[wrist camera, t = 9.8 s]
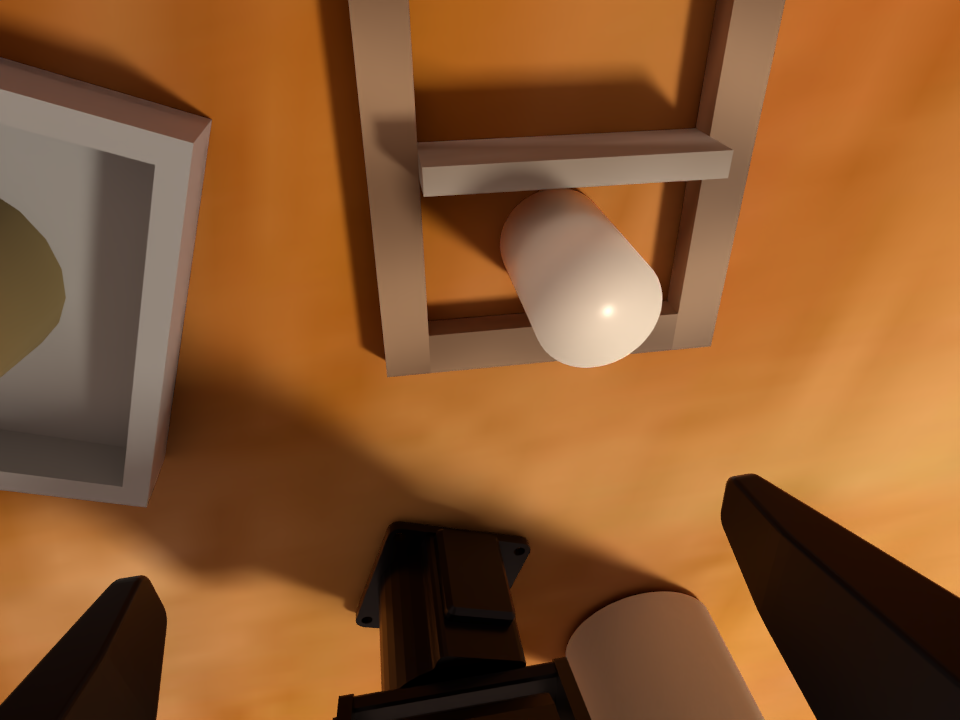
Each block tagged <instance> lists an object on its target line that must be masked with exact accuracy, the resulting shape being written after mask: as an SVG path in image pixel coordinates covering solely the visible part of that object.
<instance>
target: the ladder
mask: <svg viewBox="0 0 960 720" xmlns="http://www.w3.org/2000/svg"><path fill="white" fill-rule="evenodd" d="M348 3H349V12H350V22H351V32H352V41H353V51H354V60H355V70H356V80H357V89H358V99H359V108H360V118H361V128H362V137H363V147H364V157H365V166H366V176H367V185H368V195H369V205H370V214H371V224H372V233H373V243H374V253H375V262H376V272H377V282H378V291H379V301H380V310H381V320H382V330H383V339H384V349H385V358H386V368H387V377H395V376H405V375H415V374H426V373H436V372H447V371H457V370H468V369H478V368H489V367H499V366H509V365H520V364H530V363H541V362H551V361H557V360H556V359H554V358H553V357H551V356H550V355H549V354H548V353H547V352H546V351H545V350H544V349H543V347H542V346H541V345H540V343H539V341H538V339H537V337H536V335H535V332H534V330H533V328H532V326H531V323H530V321H529V319H528V317H527V314H526V313H518V314H506V315H494V316H483V317H471V318H459V319H448V320H436V321H428V317H427V300H426V283H425V266H424V250H423V233H422V216H421V200H420V184H421V188H422V192H423V196H424V197H429V196H446V195H462V194H478V193H495V192H511V191H527V190H543V189H560V188H576V187H592V186H609V185H625V184H641V183H657V182H674V181H687V183H686V189H685V195H684V201H683V207H682V213H681V219H680V225H679V231H678V238H677V244H676V250H675V256H674V262H673V268H672V274H671V280H670V286H669V292H668V298H667V301H662V308H661V312H660V315H659V318H658V321H657V323H656V325H655V327H654V329H653V330H652V332H651V333H650V335H649V336H648V337H647V339H646V340H645V341H644V342H643V343H642V344H641V345H640V346H639V347H638V348H637V349H635V350H634V351H633V352H632V353H630V354H635V353H645V352H656V351H666V350H677V349H687V348H698V347H708V346H711V342H712V337H713V333H714V328H715V323H716V319H717V314H718V309H719V305H720V300H721V296H722V291H723V286H724V282H725V277H726V272H727V268H728V263H729V259H730V254H731V249H732V245H733V240H734V235H735V231H736V226H737V222H738V217H739V212H740V208H741V203H742V198H743V194H744V189H745V185H746V180H747V175H748V171H749V166H750V161H751V157H752V152H753V148H754V143H755V138H756V134H757V129H758V124H759V120H760V115H761V111H762V106H763V101H764V97H765V92H766V87H767V83H768V78H769V74H770V69H771V64H772V60H773V55H774V50H775V46H776V41H777V37H778V32H779V27H780V23H781V18H782V13H783V9H784V4H785V0H717V3H716V9H715V15H714V21H713V27H712V33H711V39H710V45H709V51H708V57H707V63H706V69H705V75H704V81H703V87H702V93H701V99H700V105H699V111H698V117H697V123H696V128H691V129H671V130H652V131H632V132H612V133H593V134H573V135H553V136H534V137H514V138H494V139H475V140H455V141H435V142H417V133H416V116H415V99H414V82H413V66H412V49H411V32H410V16H409V0H348ZM419 180H420V183H419Z"/></svg>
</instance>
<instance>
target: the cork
mask: <svg viewBox="0 0 960 720" xmlns="http://www.w3.org/2000/svg"><path fill="white" fill-rule="evenodd" d="M65 299H66V295H65V288H64V282H63V275H62V269H61V267H60V265H59V263H58V261H57V259H56V257H55V255H54V253H53V252H52V250H51V248H50V246H49V244H48V242H47V240H46V239H45V238H44V237H43V235H42V234H41V233H40V232H39V231H38V230H37V229H36V228H35V227H34V226H33V225H32V224H31V223H30V222H29V221H28V220H27V218H26V217H25V216H24V215H23V214H22V213H21V212H20V211H19V210H17V209H16V208H14V207H13V206H11V205H10V204H8V203H7V202H5V201H4V200H2V199H0V378H1V377H2V376H3V375H4V374H5V373H7V372H8V371H9V370H10V369H11V368H13V367H14V366H15V365H16V364H17V363H18V362H20V361H21V360H22V359H23V358H24V357H26V356H27V355H28V354H29V353H30V352H32V351H33V350H34V349H35V348H36V347H37V346H39V345H40V344H41V343H42V342H43V341H44V340H45V339H46V337H47V336H48V335H49V334H50V333H51V332H52V330H53V329H54V328H55V327H56V326H57V325H58V323H59V321H60V317H61V314H62V310H63V306H64V303H65Z"/></svg>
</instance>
